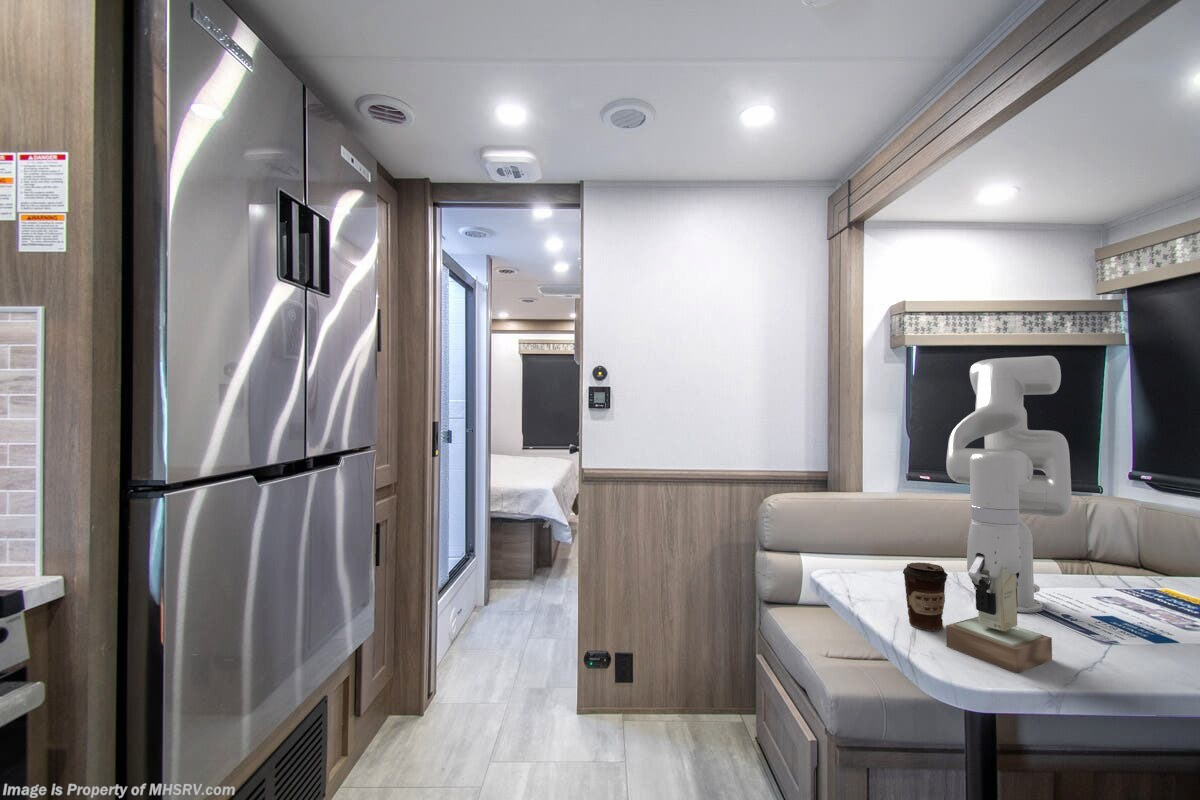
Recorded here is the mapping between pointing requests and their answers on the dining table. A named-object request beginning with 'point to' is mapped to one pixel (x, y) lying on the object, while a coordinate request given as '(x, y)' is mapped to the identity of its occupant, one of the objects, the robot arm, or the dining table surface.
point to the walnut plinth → (1000, 645)
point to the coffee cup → (925, 595)
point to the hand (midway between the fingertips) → (996, 608)
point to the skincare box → (1002, 602)
